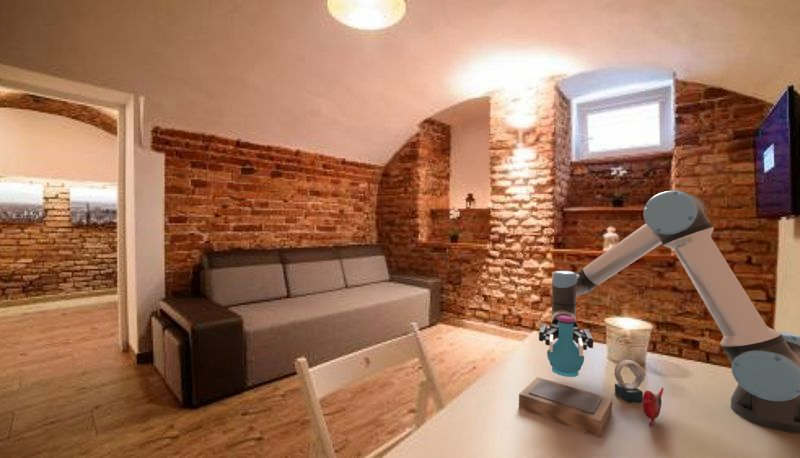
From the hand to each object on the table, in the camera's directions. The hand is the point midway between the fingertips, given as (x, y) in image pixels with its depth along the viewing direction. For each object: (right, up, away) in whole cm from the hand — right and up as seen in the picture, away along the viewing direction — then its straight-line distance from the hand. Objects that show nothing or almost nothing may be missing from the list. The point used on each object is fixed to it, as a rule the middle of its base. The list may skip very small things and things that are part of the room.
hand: (566, 348), depth 91 cm
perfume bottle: (+2, -8, +5) cm, 10 cm away
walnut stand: (+2, -19, +5) cm, 19 cm away
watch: (+24, -19, +12) cm, 33 cm away
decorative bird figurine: (+23, -19, 0) cm, 30 cm away
